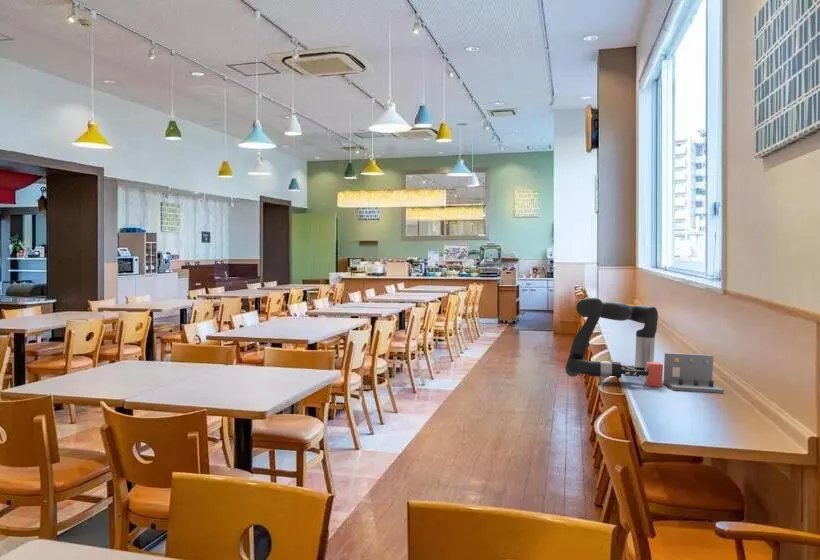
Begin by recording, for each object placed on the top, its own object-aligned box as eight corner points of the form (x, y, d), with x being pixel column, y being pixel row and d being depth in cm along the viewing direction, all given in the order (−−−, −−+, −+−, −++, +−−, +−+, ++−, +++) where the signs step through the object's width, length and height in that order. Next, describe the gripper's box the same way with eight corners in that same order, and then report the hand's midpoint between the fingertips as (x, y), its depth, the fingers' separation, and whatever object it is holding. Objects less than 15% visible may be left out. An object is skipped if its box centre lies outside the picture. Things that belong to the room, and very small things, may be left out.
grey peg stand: (663, 382, 294) (664, 352, 294) (710, 385, 291) (712, 355, 291) (672, 390, 277) (674, 358, 277) (723, 393, 274) (725, 361, 274)
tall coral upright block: (645, 383, 292) (646, 361, 291) (658, 383, 291) (659, 362, 290) (648, 385, 286) (649, 363, 285) (662, 386, 285) (663, 364, 284)
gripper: (612, 364, 284) (650, 366, 281) (607, 359, 298) (643, 360, 295) (612, 380, 284) (649, 382, 282) (607, 374, 298) (642, 376, 296)
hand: (646, 371), depth 288 cm, fingers open, 8 cm apart
